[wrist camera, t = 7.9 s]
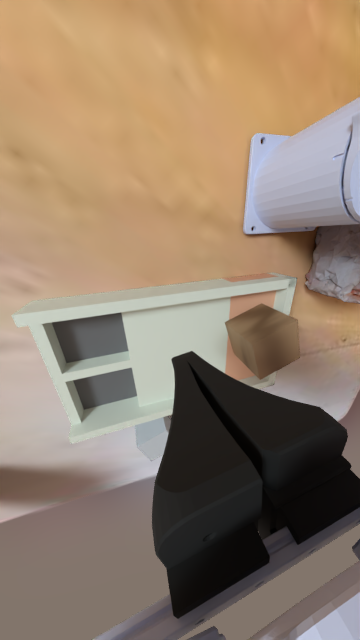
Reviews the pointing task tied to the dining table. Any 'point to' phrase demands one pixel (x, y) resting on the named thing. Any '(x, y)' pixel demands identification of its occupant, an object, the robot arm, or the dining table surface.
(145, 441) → the grey block
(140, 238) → the dining table surface
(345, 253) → the grey-brown rough block
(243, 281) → the tray
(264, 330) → the walnut block
